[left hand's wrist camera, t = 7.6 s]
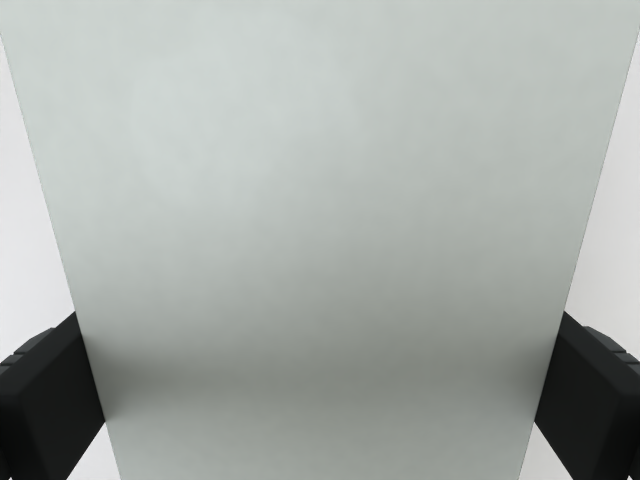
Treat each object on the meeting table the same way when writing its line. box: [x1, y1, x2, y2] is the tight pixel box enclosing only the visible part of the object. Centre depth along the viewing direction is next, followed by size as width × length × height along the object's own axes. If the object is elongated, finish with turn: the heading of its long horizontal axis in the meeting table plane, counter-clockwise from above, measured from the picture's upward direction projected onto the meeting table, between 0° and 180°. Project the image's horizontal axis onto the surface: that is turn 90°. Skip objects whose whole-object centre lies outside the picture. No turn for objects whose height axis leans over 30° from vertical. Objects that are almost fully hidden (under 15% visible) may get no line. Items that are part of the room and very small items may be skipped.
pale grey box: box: [0, 0, 640, 480], centre depth 11 cm, size 20×11×8 cm, turn 0°
